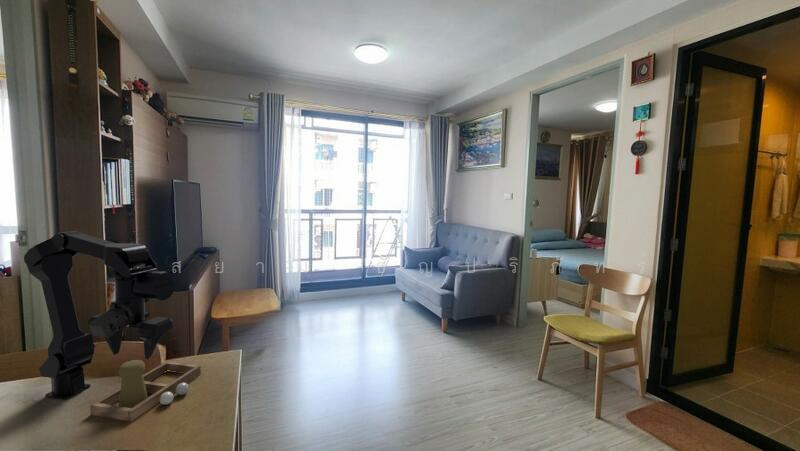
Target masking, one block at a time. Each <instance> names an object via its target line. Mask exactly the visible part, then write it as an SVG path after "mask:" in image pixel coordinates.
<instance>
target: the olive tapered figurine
mask: <svg viewBox="0 0 800 451" xmlns="http://www.w3.org/2000/svg"><path fill="white" fill-rule="evenodd" d="M145 369H146V364H145V362H144V361H143V360H141V359H133V360H129V361H128V360H127V361H126V362H124V363H123V364H121V365H120V367H119V369H118V375H119V377H120V378H121V384H120V388H121V390H120V398H119V401H118V406H120V407H127V408H133V407H134V406H136V405H138V404H139V403H141V402H142V401H144V400H145V399H147V398H148V397H149V396H148V393H147V391H146V387H145V382H144V377H143V375H144V372H145Z"/></svg>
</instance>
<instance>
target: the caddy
mask: <svg viewBox="0 0 800 451" xmlns="http://www.w3.org/2000/svg"><path fill="white" fill-rule="evenodd" d="M201 367H202V366H201V365H198V364H190V363H189V364H188V363H181V362H173V361H165V362H163V363H161V364H159V365H158V366H156V367H154V368H152V369H151V370H149V371H148V372H146V373H143V377H144V382H145V387H146V391H147V394H151V395H150V396H148V398H147V399H145V400H144V401H142V402H141V403H139V404H138V405H136V406H134V407H133V408H127V407H120V406H119V405H114V404H116V403H118V402H119V398H120V390H121V387H120V388H118V389H116V390H114V391H112V392H111V393H109V394H106V395H105V396H104V397H102V398H100V399H98V400H96V401H95V402H93V403H91V404H90V415H91V416H95V417H102V418H107V419H108V418H109V419H114V420H119V421H128V422H133V421H135V420H136V419H137V418H139V417H140V416H142V415H143V414H145V413H146V412H147V411H149V410H151V409H152V408H154V407H156V405H158V404H159V403H160V400H159V399H160V396H161V395H162V394H163V393H165V392H171V393H173V394H174V393H176V387H177V386H178V385H179V384H180V383H187V384H188V383H190V382H191V381H193V380H194V379H196V378H197V377H198V376H200V375H201V374H202V370H201V369H202V368H201ZM167 370H170V371H176V372H183V373H185V374H183V373H182V375H180V376H178V378H176V379H175V380H173V381H171V382H170V383H168V384H166V383H161V382H153V379H154V380H155V379H157V378H159V377H161V376H162V375H163V373H164V372H165V371H167ZM167 372H168V371H167ZM176 372H175V373H176ZM165 373H166V372H165ZM165 373H164V374H165ZM161 374H162V375H161ZM158 376H159V377H158Z"/></svg>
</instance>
